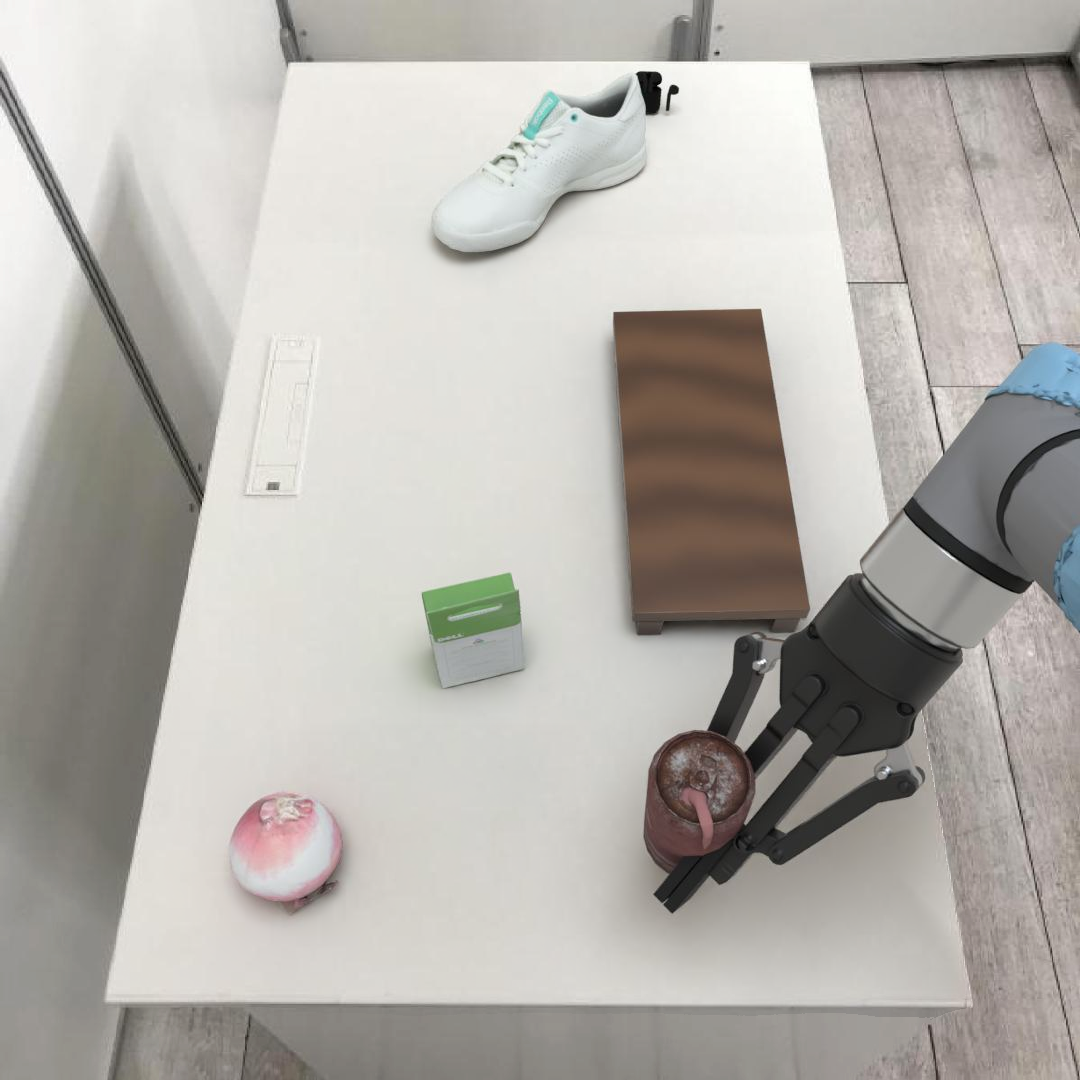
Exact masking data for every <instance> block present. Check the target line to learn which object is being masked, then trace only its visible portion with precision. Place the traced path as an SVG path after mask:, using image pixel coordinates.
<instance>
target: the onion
mask: <svg viewBox="0 0 1080 1080" xmlns="http://www.w3.org/2000/svg"><path fill="white" fill-rule="evenodd" d="M342 837H343V836H342V832H341V829H340V826H339V823H338V822H337V820H336V818H335V816H334V815H333V813H332V812H331V811H330V809H329V808H328V807H326V805H325V804H324V803H322V802H321V801H319V800H318V799H315V798H314V797H312V796H310V795H305V794H303V793H297V792H291V791H277V792H273V793H272V794H268V795H266V796H264V797H261V798H259V799H258V800H257V801H256V802H253V804H251V805H250V807H248V808H247V810H246V811H245V812H244V813H243V814H242V816H241V817H240V818H239V820H238V821H237V823H236V825H235V826H234V829H233V831H232V834H231V836H230V840H229V845H228V846H229V847H228V857H229V858H228V859H229V864H230V868H231V871H232V873H233V876H234V878H235V880H236V882H237V883H238V884H239V885H240V887H241V888H243V889H244V890H245V891H247V892H248V893H250V894H252V895H254V896H256V897H259V898H261V899H264V900H268V901H274V902H280V904H281V905H282V907H283V909H284V910H285V912H286V914H287V915H291V914H292V913H294V912H295V911H297V910H299V909H300V908H302V907H304V906H306V905H307V904H308V903H310V902H312V901H313V900H314V899H315V898H316V897H317V896H320V895H323V894H325V893H326V892H328V891H329V890H331V889H332V888H334V887H335V886H337V885H338V884H340V882H339V881H338V880H336V879H335V880H333V881H330V882H327V880H328V879H329V878H330V877H331V875H332V874H333V873H334V871H335V869H336V868H337V866H338V864H339V862H340V860H341V857H342V856H341V855H342V851H343V840H342ZM320 887H321V888H320ZM319 888H320V890H319V892H317V893H316V894H315V895H313V896H312V897H311V898H309V897H308V896H309V895H311V894H312V893H314V892H315V891H316V890H318V889H319Z"/></svg>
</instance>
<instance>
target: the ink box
mask: <svg viewBox="0 0 1080 1080" xmlns="http://www.w3.org/2000/svg"><path fill="white" fill-rule="evenodd" d="M421 599H422V605H423V609H424V614H425V619H426V624H427V630H428V635H429V639H430V644H431V648H432V653H433V658H434V662H435V667H436V669H437V675H438V679H439V683H440V685H441V688H442V689H446V688H451V687H456V686H459V685H463V684H467V683H472V682H476V681H480V680H484V679H489V678H492V677H497V676H500V675H504V674H509V673H513V672H516V671H517V672H518V671H522V670H524V669H525V668H526V666H525V653H524V640H523V638H524V637H523V624H522V614H521V612H522V610H521V608H522V607H521V600H520V599H521V598H520V589H519V588H516V589H515V584H514V581H513V576H512V573H511V572H510V571H508V572H506V573H505V572H504V573H500V574H495V575H491V576H488V577H483V578H477V579H474V580H470V581H466V582H460V583H456V584H452V585H447V586H446V585H445V586H441V587H437V588H433V589H428V590H424V591H423V590H422V591H421Z"/></svg>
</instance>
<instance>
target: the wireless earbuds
mask: <svg viewBox="0 0 1080 1080" xmlns="http://www.w3.org/2000/svg"><path fill="white" fill-rule="evenodd" d="M635 74H636V75H637V77H638V81H639V85H640V89H641V94H642V97H643V99H644V102H645V108H646V114H656V113H658V112H659V110H660V108H661V100H662V88H661V87H660V86H659V85H661V84H662V83H663V75H662V74H661V73H660V72H659V71H656V70H653V71H648V70H639V71H637V72H635ZM679 93H680V87H679V86H678V85H676V84H670V86H669V88H668V91H667V94H666V102H665V112H670V108H671V99H672V96H675V95H678V94H679Z"/></svg>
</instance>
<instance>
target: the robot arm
mask: <svg viewBox="0 0 1080 1080" xmlns="http://www.w3.org/2000/svg"><path fill="white" fill-rule="evenodd" d="M859 566H860V571H861V572H857V573H853V574H849V575H847V576H846V578H845V579H844V580H843V581H842V582H841V583H840V584H839V586H838V588H837V589H836V590H835V591H834V592H833V594H832V595H831V596H830V597H829V599H828V600H827V601H826V602H825V603H824V605H823V606H822V607H821V609H820V610H819V611H818V613H816V615H815V616H814V618H813V619H812V620H811V621H810V622H809V624H808V625H806V627H805V628H803V629H801V630H799V631H796V632H793V633H792V634H790V635H789V636H787V637H786V638H785V639H781V638H774V637H768V636H767V635H766V634H765V633H763V632H761V631H753V632H751V633H749V634H745V635H742V636H740V637H738V638H737V639H736V640H735V641H734V645H733V655H732V656H733V659H732V673H731V675H730V678H729V680H728V682H727V684H726V687H725V689H724V691H723V693H722V695H721V698H720V700H719V702H718V705H717V706H716V709H715V712H714V714H713V716H712V718H711V721H710V723H709V725H708V728H707V730H706V731H712V732H715V733H717V734H720V735H723V736H725V737H727V738H729V739H730V740H731V741H732V742H734V743H735V744H736V742H737V740H738V737H739V735H740V732H741V730H742V728H743V726H744V723H745V721H746V719H747V717H748V715H749V713H750V710H751V708H752V705H753V704H754V702H755V699H756V697H757V695H758V693H759V690H760V689H761V686H762V684H763V681H764V679H765V674H767V673H769V672H771V671H773V670H774V669H775V668H776V664H777V662H778V661H779V662H780V663H779V693H778V694H779V695H778V696H779V698H778V701H779V706H780V707H779V708H778V710H777V711H776V712H775V713H774V714H773V716H772V717H771V718H770V719H769V721H768V722H767V723H766V726H765V727H764V728H763V729H762V731H761V732H760V733H759V734H758V735H757V737H756V738H755V739H754V741H752V743H751V744H750V745H749V746H748V748H747V749H746V750H745V751H744V753H745V755H746V756H747V758H748V759H749V760H750V763H751V766H752V769H753V772H754V775H755V781H756V780H757V779H758V778H759V777H760V775H761V774H762V773H763V772H764V771H765V770H766V768H767V767H769V765H770V764H771V762H772V761H773V760H774V759H775V758H776V757H777V755H778V754H779V753H780V752H781V751H782V749H783V748H784V747H785V746H786V745H787V743H788V742H789V741H790V740H791V739H792V738H793V736H795V735H796V733H797V732H798V731H800V732H802V733H804V734H805V735H806V736H807V737H808V739H809V741H810V742H811V744H810V745H809V746H808V748H807V749H806V750H805V751H804V752H803V754H802V755H801V757H800V759H799V760H798V762H796V764H795V765H794V766H793V767H792V769H791V770H790V771H789V772H788V774H787V775H786V776H785V777H784V778H783V780H782V781H781V782H780V783H779V784H778V785H777V787H776V788H775V789H774V791H773V792H772V793H771V794H770V796H768V797H767V799H766V800H765V801H764V803H762V805H761V806H760V808H759V809H757V811H756V812H755V814H754V815H753V816H752V817H751V818H750V820H749V821H748V822H747V823H746V824H745V823H744V825H743V827H742V829H741V831H740V832H739V833H738V834H737V835H736V836H735V837H734V838H733V839H731V840H730V841H728V842H727V843H726V844H725V845H723V846H722V847H721V848H720V849H717V850H715V851H712V852H710V853H707V854H705V855H704V856H703V857H702V855H699V856H684V857H683V859H682V860H681V861H680V862H679V863H678V865H677V866H676V867H675V868H674V869H673V871H672V872H671V873H670V874H668V875H667V876H666V878H665V879H664V880H663V881H662V883H661V884H660V885H659V886H658V888H657V889H656V890H655V891H654V893H653V894H652V895H653V896H654V897H655V898H656V899H657V900H658V901H659V902H660V903H661V904H662V906H664V907H665V909H666V910H667V911H668V912H669V913H670V914H672V915H673V914H674V913H676V912H677V910H679V909H680V908H681V907H683V906H684V905H685V904H686V903H687V902H689V901H690V900H691V899H692V898H693V897H694V895H695V894H696V893H697V891H699V889H700V888H701V887H702V886H703V885H704V884H705V882H706V881H707V880H708V879H709V877H710V878H711V879H712V880H713V881H714V882H715V883H716V884H717V885H718V886H722V885H724V884H726V883H728V882H729V881H730V880H731V879H732V878H734V877H735V876H736V875H737V874H738V873H739V872H740V870H741V869H742V868H743V867H744V865H745V864H746V863H747V862H748V861H749V860H750V859H751V857H752V856H753V855H754V854H761V855H764V856H766V857H768V858H769V861H770V862H771V863H772V864H774V865H776V866H782V865H785V864H786V863H788V862H790V861H792V860H793V859H794V858H796V857H798V855H800V854H803V853H804V852H805V851H806V850H808V849H810V848H812V847H814V845H816V844H817V843H820V842H821V841H822V840H823V839H825V838H827V837H828V836H830V835H831V834H833V833H835V832H836V831H837V830H839V829H841V828H842V827H844V826H845V825H847V824H848V823H850V822H852V821H853V820H854V819H856V818H858V817H859V816H861V815H862V814H864V813H865V812H867V811H869V810H870V809H872V808H873V807H876V805H878V804H881V803H886V802H891V801H897V800H901V799H905V798H907V799H908V798H910V797H913V795H914V794H915V793H916V792H917V791H918V790H919V789H920V788H921V787H922V786H923V784H925V781H926V772H925V771H924V769H923V768H921V767H920V766H919V765H916V763H915V761H914V758H913V755H912V752H911V750H910V746H909V744H908V741H909V739H911V737H912V735H913V733H914V730H915V725H916V724H915V723H916V720H917V717H918V716H919V713H920V712H921V711H922V710H923V709H924V708H925V706H926V705H927V704H928V703H929V702H930V701H931V700H932V698H933V697H934V696H935V695H936V694H937V692H939V691H940V689H941V688H942V687H943V686H944V685H945V683H946V682H947V681H948V680H949V679H950V678H951V677H952V675H954V674H955V672H956V671H957V670H958V669H959V668H960V666H962V664H963V663H964V659H963V657H964V652H963V649H965V650H967V649H968V650H969V649H970V650H971V649H976V647H978V646H979V645H980V644H981V642H982V641H983V640H984V639H985V638H986V637H987V635H988V634H989V633H990V632H991V631H993V629H994V628H995V626H996V625H997V624H998V623H999V622H1000V621H1001V619H1003V617H1005V615H1006V614H1007V613H1008V612H1009V611H1010V610H1011V608H1012V607H1013V606H1014V605H1015V604H1016V603H1017V602H1018V601H1019V600H1020V598H1021V597H1022V596H1023V594H1024V593H1026V592H1027V590H1029V588H1030V587H1031V586H1032V585H1033V583H1034V582H1036V584H1037V585H1038V586H1039V587H1040V588H1041V589H1042V590H1043V591H1044V592H1045V594H1046V595H1047V596H1048V597H1049V598H1050V599H1051V600H1052V601H1053V602H1054V603H1055V605H1056V606H1057V607H1058V608H1059V609H1060V610H1061V611H1062V612H1063V614H1064V617H1065V619H1067V621H1069V622H1070V623H1071V625H1072V626H1073V627H1074V629H1076V630H1077V632H1078V633H1079V634H1080V353H1079V352H1077V351H1076V350H1074V349H1073V348H1071V347H1069V346H1066V345H1065V344H1063V343H1059V342H1054V341H1051V342H1050V341H1049V342H1048V341H1047V342H1043V343H1040V344H1037V346H1034V347H1033V348H1031V349H1030V350H1029V351H1028V352H1027V353H1026V354H1025V355H1024V356H1023V358H1022V359H1021V361H1019V363H1018V364H1017V365H1016V366H1015V367H1014V368H1013V370H1012V371H1010V373H1009V374H1008V375H1007V376H1006V377H1005V379H1004V380H1003V381H1002V382H1001V384H1000V385H998V386H997V387H995V388H994V389H991V390H990V392H988V393H987V395H986V396H985V398H984V399H983V403H982V404H981V405H980V407H979V408H978V409H977V410H976V412H975V413H974V414H973V416H972V417H971V418H970V419H969V421H968V422H967V423H966V424H965V426H964V427H963V429H962V430H961V431H960V433H959V434H958V435H957V436H956V437H955V439H954V440H953V441H952V443H951V444H950V445H949V447H948V448H947V450H946V451H945V452H944V453H943V454H942V456H941V457H940V458H939V459H938V461H937V462H936V463H935V464H934V466H933V468H932V469H931V470H930V472H928V473H927V475H926V476H925V478H924V479H923V480H922V482H921V483H920V484H919V486H917V488H916V489H915V491H914V492H913V493H912V496H911V497H910V499H909V500H908V501H907V502H906V503H905V505H902V506H901V508H900V509H899V510H898V512H897V513H896V514H895V515H894V517H893V518H892V519H891V520H890V522H888V524H887V526H886V527H884V529H883V530H882V532H881V533H880V534H879V535H878V537H877V538H876V539H875V540H874V542H872V544H871V546H870V547H869V548H868V549H867V550H866V552H865V553H864V554H863V556H861V558H860V559H859ZM882 751H886V753H885V757H884V758H883V759H881V760H880V761H879V762H877V764H876V765H874V768H873V776H871V777H869V778H867V779H866V780H864V781H863V782H862V783H860V784H859V785H857V786H855V787H854V788H852V789H851V790H849V791H848V792H847V793H845V794H843V795H842V796H841V797H839V798H837V799H836V800H834V801H833V802H831V803H829V804H828V805H827V806H826V807H824V808H822V809H821V810H819V811H818V812H816V813H815V814H813V815H812V816H810V817H809V818H807V819H806V820H804V821H802V823H800V824H798V825H796V826H795V827H794V828H792V829H790V830H789V831H788V832H783V831H781V830H780V829H778V827H779V825H780V824H781V823H782V822H783V821H784V819H785V818H786V817H787V816H788V815H789V813H790V812H791V811H792V810H793V809H794V808H795V807H796V805H797V804H798V803H799V802H800V801H801V799H802V798H803V797H804V796H805V795H806V793H807V792H808V791H809V790H810V789H811V787H813V785H814V784H815V783H816V782H817V780H818V779H819V778H820V776H821V775H823V774H824V772H825V771H826V770H827V768H828V767H829V766H830V765H831V764H832V763H833V762H834V760H836V759H837V757H838V758H847V757H852V756H859V755H865V754H870V753H876V752H882ZM701 857H702V859H701Z"/></svg>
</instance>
